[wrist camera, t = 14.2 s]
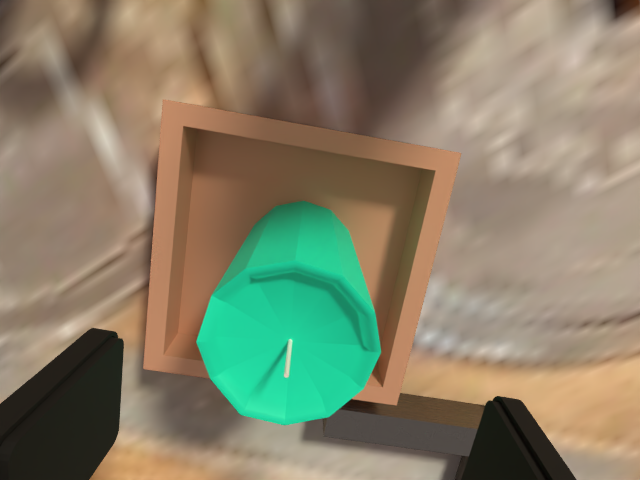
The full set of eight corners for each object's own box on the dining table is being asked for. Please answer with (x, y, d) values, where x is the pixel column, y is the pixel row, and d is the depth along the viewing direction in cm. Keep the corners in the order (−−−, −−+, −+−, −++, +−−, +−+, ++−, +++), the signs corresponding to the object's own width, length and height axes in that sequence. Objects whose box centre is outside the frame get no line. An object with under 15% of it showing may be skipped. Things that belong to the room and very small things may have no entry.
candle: (325, 181, 23) (336, 240, 11) (370, 276, 24) (422, 416, 12) (227, 228, 23) (140, 331, 12) (277, 318, 25) (243, 488, 13)
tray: (440, 149, 23) (461, 153, 20) (386, 370, 27) (396, 405, 23) (185, 103, 22) (162, 99, 19) (165, 337, 26) (143, 369, 23)
